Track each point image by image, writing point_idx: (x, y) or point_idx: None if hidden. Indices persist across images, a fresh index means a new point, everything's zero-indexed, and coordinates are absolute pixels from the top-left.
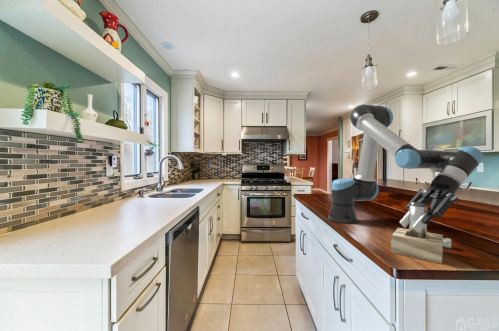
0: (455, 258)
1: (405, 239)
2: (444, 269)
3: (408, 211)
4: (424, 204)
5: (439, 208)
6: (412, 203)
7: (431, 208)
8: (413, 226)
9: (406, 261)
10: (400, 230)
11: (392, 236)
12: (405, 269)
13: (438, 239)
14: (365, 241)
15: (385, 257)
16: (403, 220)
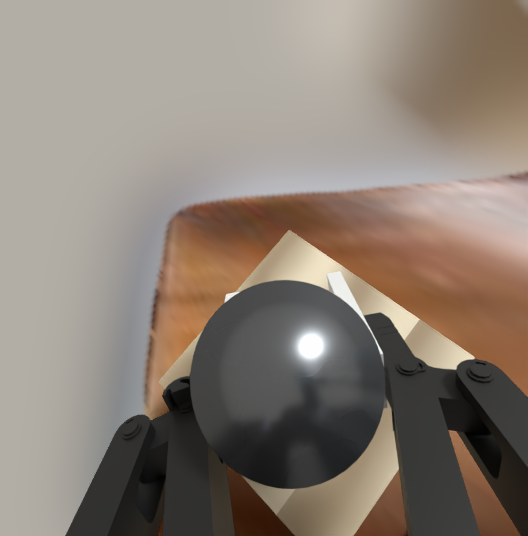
0: (239, 495)
1: (252, 274)
2: (154, 349)
3: (399, 351)
4: (191, 391)
5: (90, 494)
6: (260, 284)
7: (177, 456)
8: (231, 293)
9: (216, 266)
10: (401, 333)
11: (286, 234)
12: (166, 232)
13: None
14: (421, 215)
15: (248, 218)
16: (332, 289)
